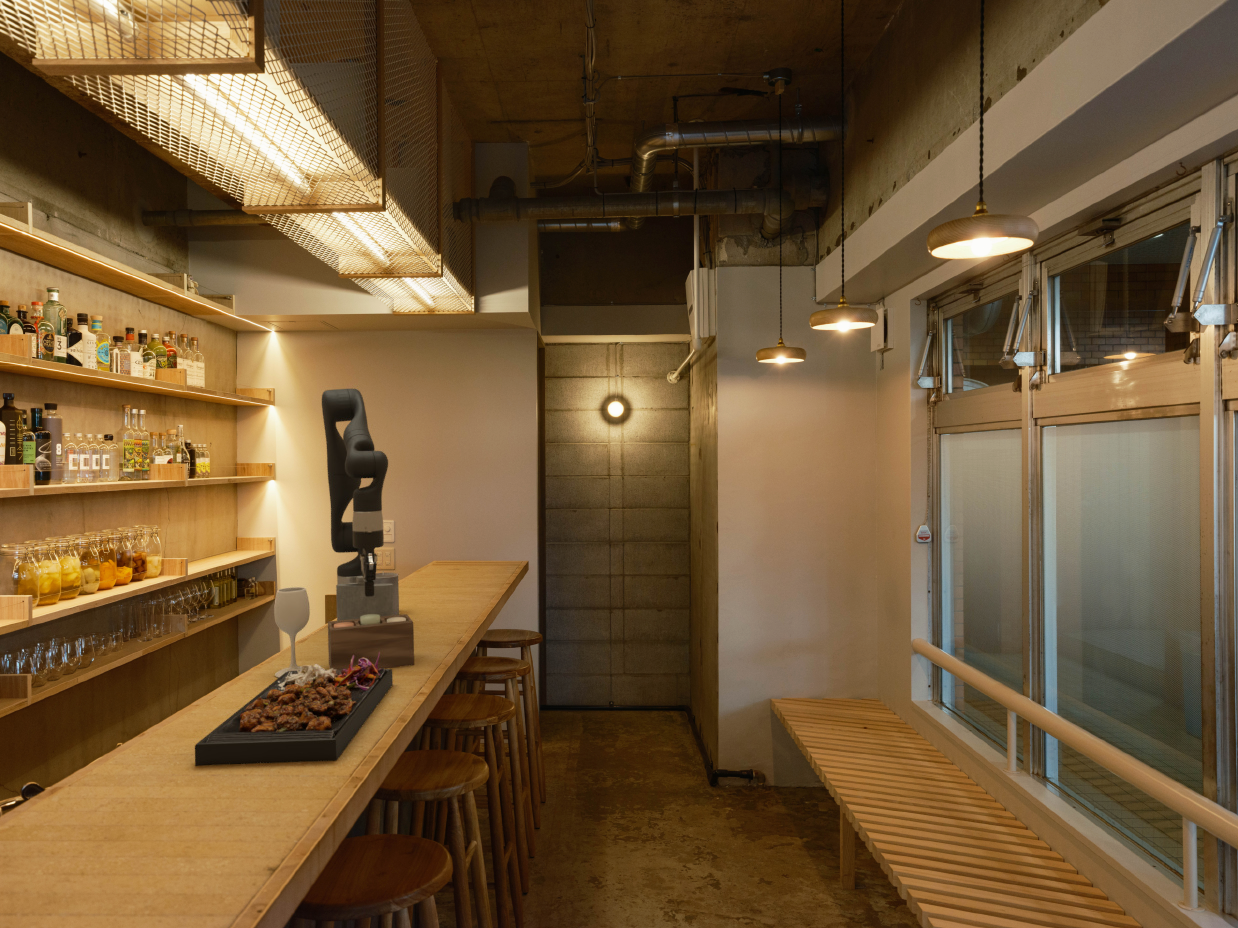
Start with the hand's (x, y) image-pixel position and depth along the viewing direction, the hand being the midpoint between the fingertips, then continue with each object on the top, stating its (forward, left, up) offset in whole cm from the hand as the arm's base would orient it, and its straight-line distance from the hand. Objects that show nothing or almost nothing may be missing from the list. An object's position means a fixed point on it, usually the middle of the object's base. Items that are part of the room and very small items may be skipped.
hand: (369, 595), depth 206 cm
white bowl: (0, -18, -18) cm, 26 cm away
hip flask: (-20, +1, -18) cm, 27 cm away
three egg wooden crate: (0, 0, -18) cm, 18 cm away
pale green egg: (0, 0, -9) cm, 9 cm away
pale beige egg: (0, +7, -10) cm, 12 cm away
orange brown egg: (0, -6, -10) cm, 12 cm away
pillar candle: (-60, +11, -18) cm, 63 cm away
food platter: (+38, -17, -19) cm, 45 cm away
